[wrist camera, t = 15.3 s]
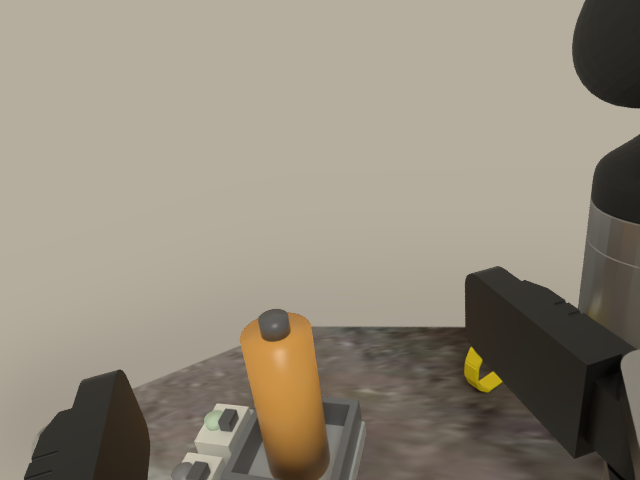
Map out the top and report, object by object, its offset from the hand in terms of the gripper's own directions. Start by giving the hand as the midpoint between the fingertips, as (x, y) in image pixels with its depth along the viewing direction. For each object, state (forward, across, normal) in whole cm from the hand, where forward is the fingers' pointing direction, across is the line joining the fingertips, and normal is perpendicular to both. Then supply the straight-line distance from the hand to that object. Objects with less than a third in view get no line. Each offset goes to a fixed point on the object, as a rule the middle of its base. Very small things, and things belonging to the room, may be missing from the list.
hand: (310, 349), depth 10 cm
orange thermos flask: (+17, 0, +23) cm, 29 cm away
